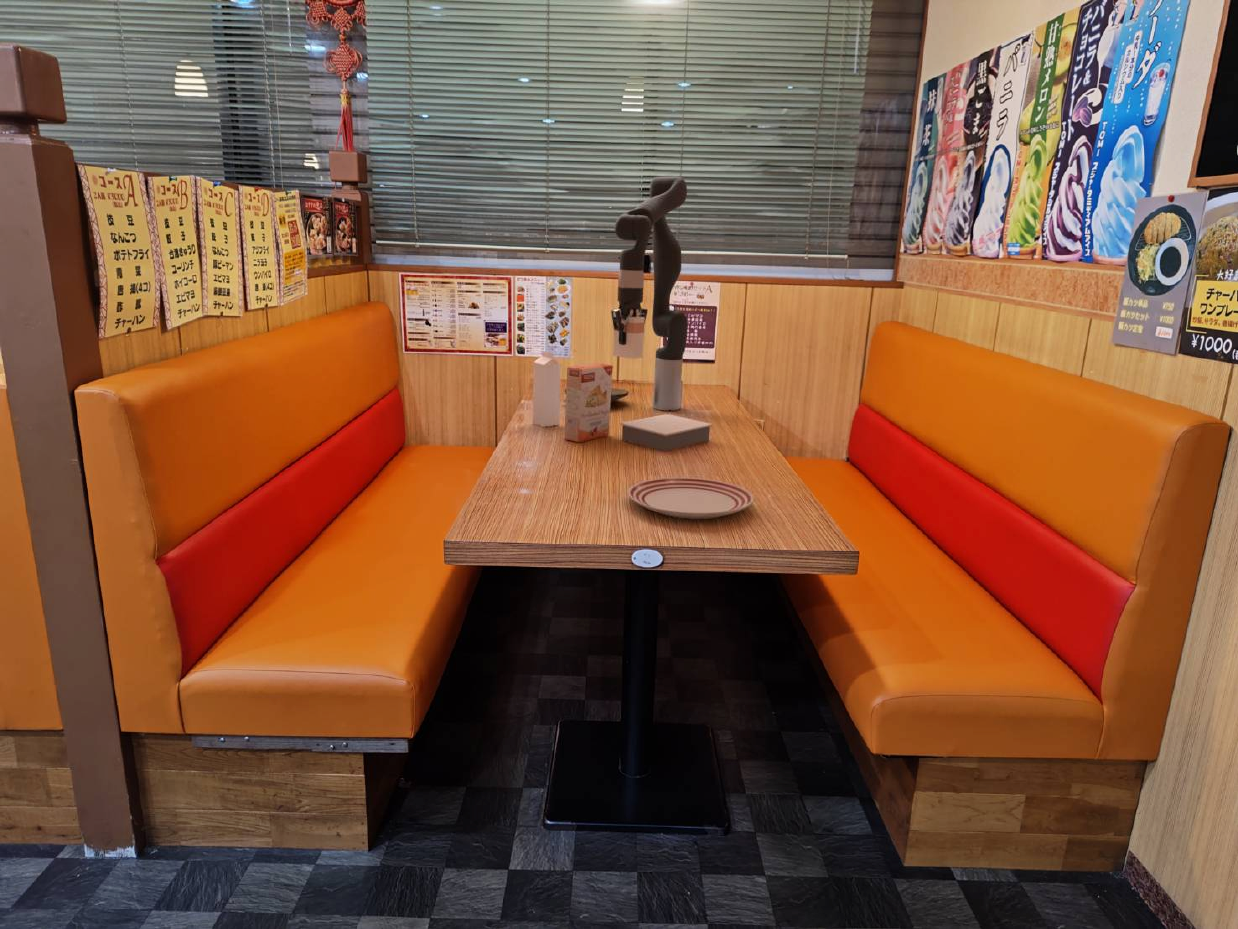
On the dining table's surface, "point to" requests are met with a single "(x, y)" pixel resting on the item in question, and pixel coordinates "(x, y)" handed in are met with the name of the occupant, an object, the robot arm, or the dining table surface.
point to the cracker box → (588, 401)
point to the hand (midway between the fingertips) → (628, 343)
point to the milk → (546, 390)
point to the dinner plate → (690, 497)
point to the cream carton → (630, 339)
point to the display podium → (665, 432)
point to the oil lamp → (616, 394)
